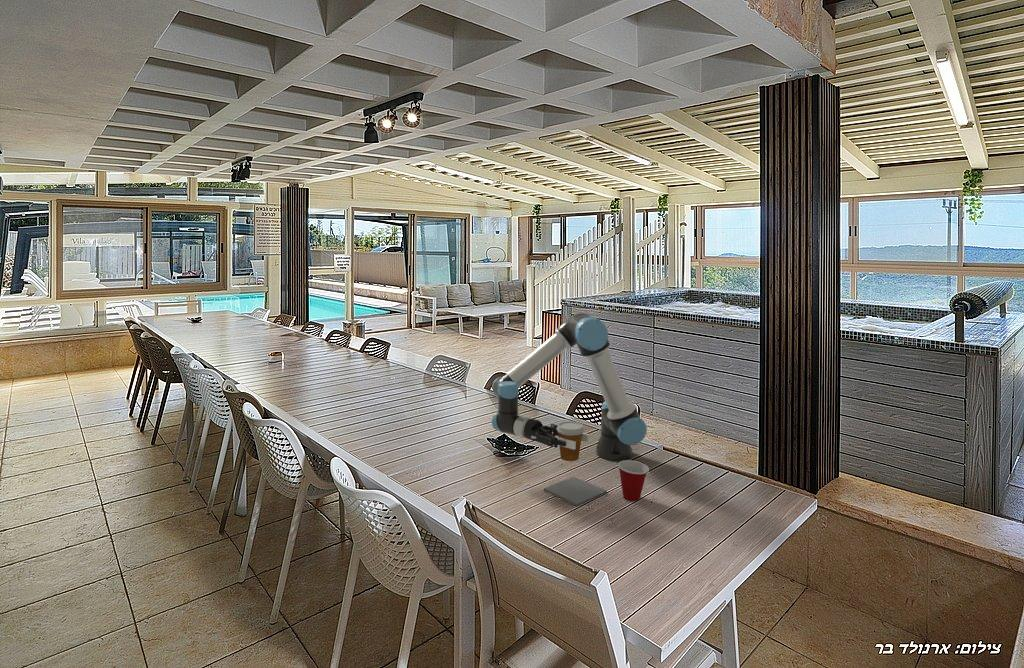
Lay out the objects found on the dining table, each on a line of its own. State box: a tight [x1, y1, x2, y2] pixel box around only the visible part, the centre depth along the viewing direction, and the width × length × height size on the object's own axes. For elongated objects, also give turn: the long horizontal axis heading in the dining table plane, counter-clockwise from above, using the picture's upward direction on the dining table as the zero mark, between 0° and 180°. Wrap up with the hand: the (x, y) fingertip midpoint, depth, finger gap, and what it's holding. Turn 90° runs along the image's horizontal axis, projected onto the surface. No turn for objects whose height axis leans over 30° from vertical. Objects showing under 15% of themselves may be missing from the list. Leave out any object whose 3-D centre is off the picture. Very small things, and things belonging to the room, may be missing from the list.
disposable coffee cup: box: [557, 421, 585, 462], centre depth 200 cm, size 10×10×12 cm
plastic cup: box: [617, 459, 650, 502], centre depth 200 cm, size 11×11×12 cm
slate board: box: [543, 476, 608, 507], centre depth 205 cm, size 16×16×1 cm
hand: (581, 441), depth 197 cm, fingers closed on disposable coffee cup, 8 cm apart
